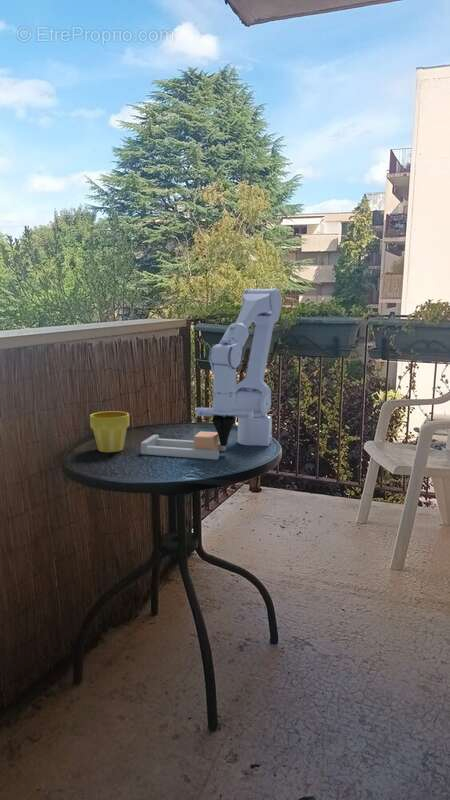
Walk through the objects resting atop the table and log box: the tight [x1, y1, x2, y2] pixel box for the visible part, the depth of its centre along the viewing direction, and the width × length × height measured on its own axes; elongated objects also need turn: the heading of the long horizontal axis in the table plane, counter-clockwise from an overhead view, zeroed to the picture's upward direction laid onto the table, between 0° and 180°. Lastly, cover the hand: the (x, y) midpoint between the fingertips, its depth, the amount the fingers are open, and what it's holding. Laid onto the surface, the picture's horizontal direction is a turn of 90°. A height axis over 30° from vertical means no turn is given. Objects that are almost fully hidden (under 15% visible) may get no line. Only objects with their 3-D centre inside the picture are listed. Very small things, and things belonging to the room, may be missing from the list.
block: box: [193, 430, 220, 450], centre depth 137 cm, size 5×6×5 cm
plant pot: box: [89, 410, 130, 453], centre depth 143 cm, size 10×10×10 cm
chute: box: [140, 434, 227, 460], centre depth 138 cm, size 20×14×4 cm
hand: (223, 445), depth 136 cm, fingers closed
